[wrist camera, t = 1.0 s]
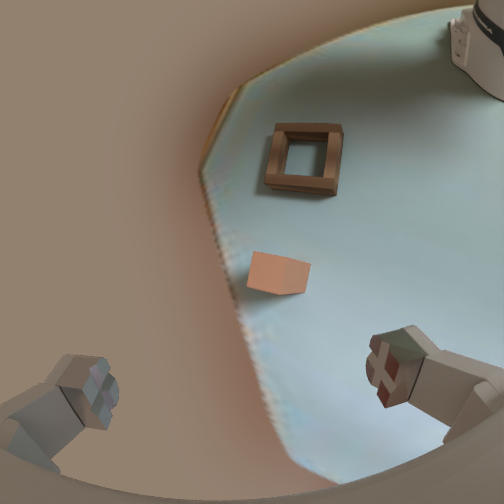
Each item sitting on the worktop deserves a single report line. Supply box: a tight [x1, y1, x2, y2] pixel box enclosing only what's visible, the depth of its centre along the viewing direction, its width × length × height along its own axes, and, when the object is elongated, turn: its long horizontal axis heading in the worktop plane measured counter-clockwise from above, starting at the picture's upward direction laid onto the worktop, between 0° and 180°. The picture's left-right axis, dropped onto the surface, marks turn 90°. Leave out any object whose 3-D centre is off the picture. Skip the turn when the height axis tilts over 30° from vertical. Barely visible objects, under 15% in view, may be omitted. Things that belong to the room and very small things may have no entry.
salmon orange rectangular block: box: [246, 251, 311, 295], centre depth 35 cm, size 4×4×10 cm
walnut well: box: [264, 123, 344, 196], centre depth 38 cm, size 10×10×3 cm
